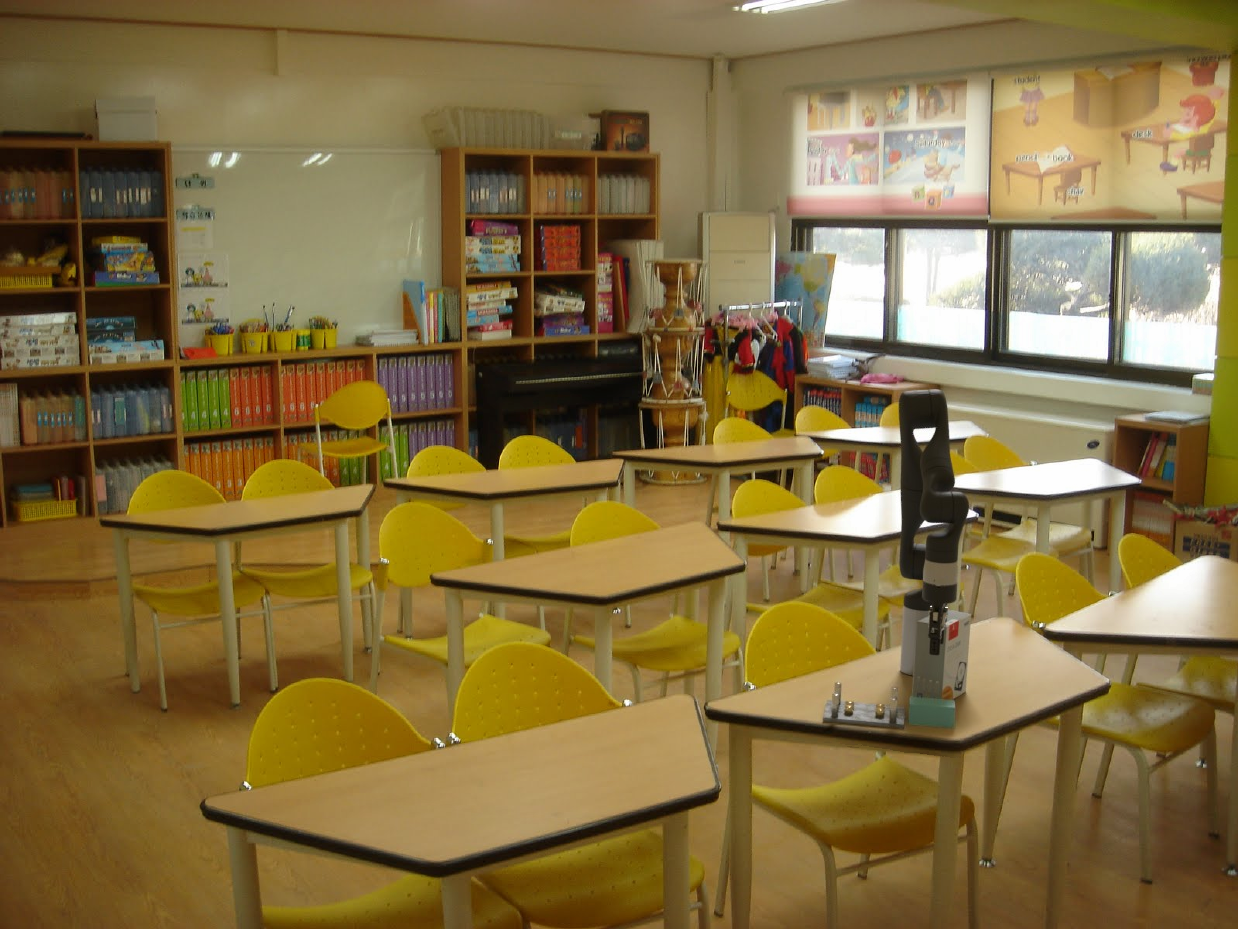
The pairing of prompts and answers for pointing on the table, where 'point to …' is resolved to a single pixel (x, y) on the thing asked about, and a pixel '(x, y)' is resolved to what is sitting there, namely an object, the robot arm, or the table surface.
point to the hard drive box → (942, 659)
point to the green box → (931, 712)
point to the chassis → (864, 711)
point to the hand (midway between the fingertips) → (936, 649)
